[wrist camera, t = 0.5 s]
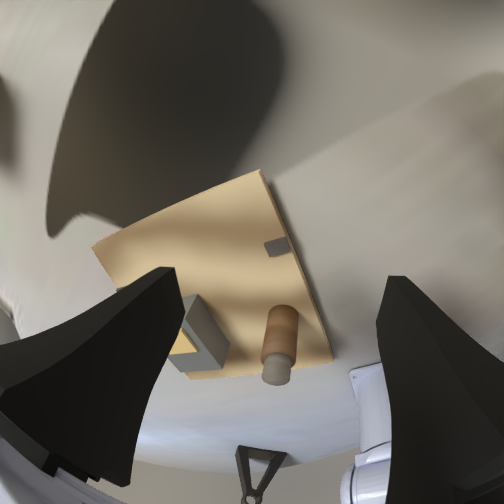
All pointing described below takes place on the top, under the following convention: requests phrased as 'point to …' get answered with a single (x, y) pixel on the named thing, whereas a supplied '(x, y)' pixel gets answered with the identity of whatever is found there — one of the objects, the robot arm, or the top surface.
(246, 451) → the phone stand
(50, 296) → the top surface
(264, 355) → the grey-capped wooden dowel
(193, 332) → the block
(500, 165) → the top surface
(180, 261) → the plywood board
